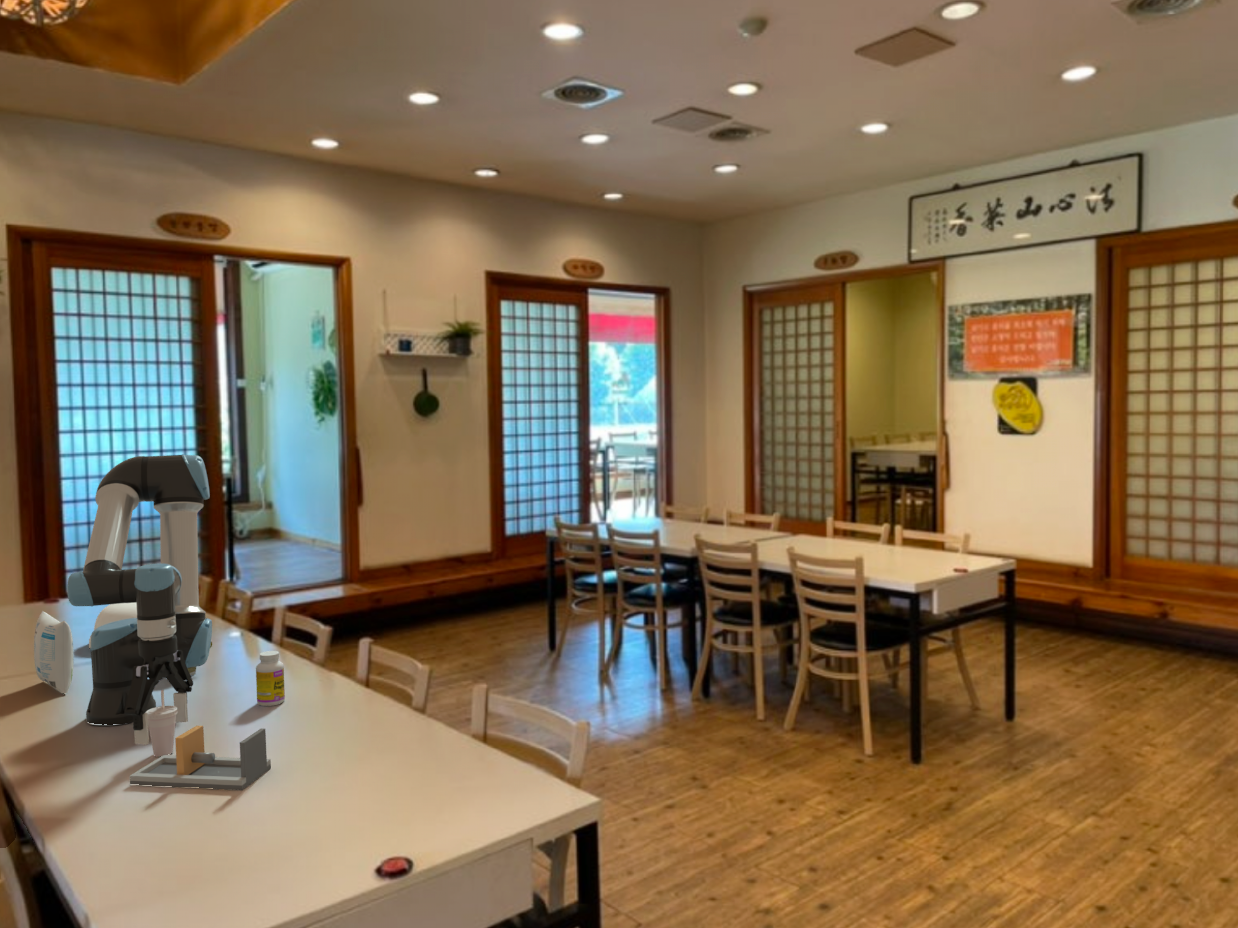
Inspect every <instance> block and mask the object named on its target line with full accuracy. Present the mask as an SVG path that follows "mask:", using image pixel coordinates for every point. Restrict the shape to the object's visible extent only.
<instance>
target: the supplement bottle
mask: <svg viewBox="0 0 1238 928" xmlns="http://www.w3.org/2000/svg"><path fill="white" fill-rule="evenodd" d="M279 658H280V651H277V650H268V651H262V652H260V653H259V660H260V662H259V663H258V664H257V665H256V667H255V678H256V681H255V683H256V684H255V685H256V703H257V704H258V705H259V706H262V707H273V706H278V705H281V704H282V703H284V702H285V698H286V695H285V669H284V668H285V667H284V663H283V662H282V661H280V660H279Z"/></svg>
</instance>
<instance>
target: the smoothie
mask: <svg viewBox="0 0 1238 928" xmlns="http://www.w3.org/2000/svg"><path fill="white" fill-rule="evenodd" d="M160 696H161V697H160V698H161V699H160V700H161V706H156V707H155V708H152V709H149V710H147V711H146V712H145V713H148V732H149V736H150V737H149V738H150V742H151V746H152V752H153V753H152V754H153V756H154V755H155V756H163V755H168V754H170V753H172V752H173V753H174V745H175V742H174V741H175V732H176V731H175V730H176V723H177V722H176V714H177V713H178V711H177V707H175V706H174V705H165V690H164V689H161V690H160ZM173 753H172V754H173ZM170 755H171V754H170ZM155 756H154V757H155Z"/></svg>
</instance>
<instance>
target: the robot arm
mask: <svg viewBox="0 0 1238 928" xmlns="http://www.w3.org/2000/svg"><path fill="white" fill-rule="evenodd" d="M210 493H211V492H210V486H209V479H208V474H207V469H206V465H205V462H204V460H203V458H202V457H201V456H199V455H198V454H197V455H196V454H192V455H191V454H174V455H173V454H169V455H150V456H149V455H147V456H145V455H141V456H139V455H138V456H134V457H130V458H127V459H125V460H123V461H121V462H120V463H118V464H116V465H115V466H114V467H112V468H111V469H110V470H109V471H108V472H107V473H106V474H105V475H104V477H102V479H101V481H100V482H99V483H98V487H97V489H96V493H95V497H94V499H95V502H96V504H97V510H96V514H95V518H94V521H93V527H92V531H91V535H90V539H89V544H88V548H87V551H86V556H85V561H84V565H83V569H82V570H83V571H78V572H73V573H70V575H69V577H68V579H67V584H66V587H67V588H66V589H67V590H66V591H67V593H66V594H67V599H68V602H69V603H70V604H71V606H74V607H98V606H108V605H110V604H120V603H135V602H136V604H137V618H130V619H124V620H119V621H115V622H111V623H108V624H105V625H102V626H100V627H98V628H96V629H95V630H94V629H93V631H92V632H91V634H90V636H91V647H90V649H89V650H90V658H91V673H92V674H91V677H92V692H91V695H90V698H89V701H88V705H87V709H86V712H85V713H86V714H85V719H86V720H87V721H86V723H87V722H89V723H94V724H102V725H104V724H107V725H113V724H122V725H126V724H125V723H128V724H131V723H132V727H133V731H134V733H133V735H134V744H135V745H144V746H145V745H146V746H147V745H148V744H150V737H149V736H150V732H149V727H148V713H145V712H146V711H147V710H149V709H152V708H155V707H157V701H156V699H155V698H154V696H153V691H154V689H155V686H156V685H158V684H159V681H162V680H163V679H164V678H165V679H166V680H167V682H168V683H169V684H170V686H172V688H173V689H174V691H175V692H173V694H172V695H173V706H175V707H177V711H178V713H177V714H176V722H175V723H187V722H189V717H188V716H189V715H188V693H191V692H192V690H193V686H194V681H193V678H192V676H190V673H189V671H188V668H190V667H196V668H197V667H201V666H203V665H205V664H206V662H207V661H208V658H209V655H210V650H211V648H210V646H211V642H212V635H213V621H212V619H210V618H208V617H207V618H206V611H205V610H204V609H203V608H202V607H201V606H200V604H199V603H200V602H199V598H200V597H199V595H200V594H199V592H200V591H199V548H198V547H199V544H198V543H199V542H198V541H199V540H198V537H199V536H198V535H199V534H198V512H199V511H200V510H201V509H203V508H204V500H205V501H206V500H208V499H210V495H211V494H210ZM143 502H153V509H154V510H155V511H156V512H158V514H159V516H160V517H159V522H160V523H159V524H160V525H159V526H160V527H159V528H160V531H159V532H160V542H159V543H160V563H151V564H149V563H148V564H144V565H142V566H138V567H137V568H127V569H126V568H125V569H123V564H124V560H125V553H126V548H127V542H128V537H129V531H130V526H131V521H132V516H133V511H134V510H135V509H137V507H138V506H139V503H143Z"/></svg>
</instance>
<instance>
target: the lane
mask: <svg viewBox="0 0 1238 928" xmlns="http://www.w3.org/2000/svg"><path fill="white" fill-rule="evenodd" d="M266 737H267V735H266V728H259V729H258V730H256V731H255V732H254V733H251V734H250V735H249V736H247V737H246V738H244V739H243V740H241V741H240V742H239V756H240V757H229V756H228V757H227V756H226V757H225V756H215V760H214V762H213V763H205V764H204V765H202V766H201V767H199V768H198V769H196V770H195V771H193V772H192V773H190V774H189V775H177V762H176V754H170V755H163V756H162V757H157V759H155V760H154V761H152V762H151V763H148V764H147V765H145V766H143V767H142V768H140V769H138V770H136V772H133V773H132V774H130V775H129V785H130V784H139V785H152V786H172V787H171V788H174V787H199V788H213V789H212V790H219V789H224V790H225V791H245V789H246V788H247V787H248V786H251V784H253V783H254V782H255V781H257V780H258V779H259V778H260V777H262V776H263V775H265V774H266V773H268V771H270V770H271V768H272V764H271V763H272V762H271V758H268V757H267V738H266Z"/></svg>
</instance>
